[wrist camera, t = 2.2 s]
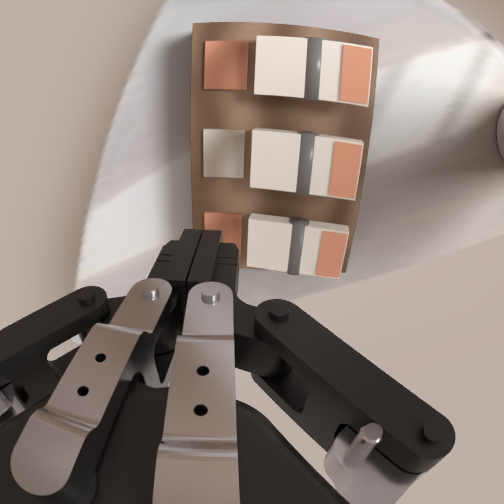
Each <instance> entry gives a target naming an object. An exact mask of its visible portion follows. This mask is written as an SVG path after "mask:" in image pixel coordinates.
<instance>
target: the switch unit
mask: <svg viewBox="0 0 504 504" xmlns="http://www.w3.org/2000/svg"><path fill="white" fill-rule="evenodd" d="M257 36H284V37H299V38H304V37H316V38H322V39H326V40H329V41H337V42H344V43H351V44H357V45H363V46H369V47H373V58H372V71H371V83H370V94H369V104H368V107H366V106H360V105H353V104H347V103H340V102H333V101H326V100H323V101H315V100H306V99H300V98H299V97H288V96H275V95H259V94H254V82H255V60H256V39H257ZM378 49H379V39H377V38H373V37H368V36H363V35H358V34H353V33H348V32H342V31H336V30H329V29H322V28H315V27H306V26H297V25H286V24H272V23H251V22H210V23H193V31H192V59H191V184H192V214H193V229H200V230H203V231H204V230H222V232H223V243H235V245H236V246H237V248H238V249H239V268H248V269H262V268H255V267H248V266H247V245H248V220H249V217H250V215H251V213H256V214H264V215H272V216H280V217H288V218H293V217H302V218H305V219H307V220H311V221H318V222H325V223H333V224H340V225H347V226H348V228H349V236H348V241H347V246H346V251H345V255H344V260H343V265H342V269H341V272H342V273H345V272H346V267H347V263H348V258H349V254H350V249H351V244H352V240H353V235H354V230H355V225H356V220H357V214H358V209H359V204H360V198H361V192H362V186H363V180H364V174H365V168H366V161H367V155H368V147H369V140H370V133H371V125H372V116H373V107H374V98H375V88H376V76H377V64H378ZM254 128H266V129H278V130H288V131H311V132H316V133H319V134H323V135H331V136H338V137H345V138H351V139H358V140H362V141H363V143H364V146H363V153H362V160H361V167H360V173H359V180H358V186H357V192H356V198H355V201H354V200H347V199H340V198H333V197H326V196H319V195H298V194H295V193H294V192H288V191H279V190H270V189H261V188H252V187H250V172H251V149H252V130H253V129H254Z"/></svg>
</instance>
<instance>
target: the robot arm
mask: <svg viewBox="0 0 504 504" xmlns="http://www.w3.org/2000/svg"><path fill="white" fill-rule="evenodd" d="M497 143H498V148H499V150H500V153H501V155H502V157H503V159H504V108H503V109H502V111H501V113H500V116H499V119H498V124H497ZM238 277H239V249H238V248H237V246H236V245H235V243H223V232H222V230H204V231H203V230H200V229H184V231H183V233H182V236H181V238H180V240H179V241H174V240H171V241H170V242H168V243H167V244H166V245H165V246H163V248H162V250H161V252H160V254H159V256H158V258H157V260H156V262H155V264H154V266H153V268H152V270H151V272H150V274H149V276H148V278H147V279H144V280H141V281H139V282H137V283H136V284H135V285H133V287H132V288H131V289H130V291H129V292H128V294H127V296H123V297H116V298H109V299H108V298H107V294H106V292H105V291H104V290H103V289H102V288H100V287H96V286H88V287H83V288H81V289H78V290H76V291H74V292H72V293H70V294H68V295H66V296H64V297H63V298H61V299H59V300H57V301H55V302H53V303H51V304H49V305H47V306H45V307H43V308H41V309H39V310H37V311H35V312H34V313H32V314H30V315H28V316H26V317H24V318H22V319H20V320H19V321H17V322H15V323H13V324H11V325H9V326H7V327H5V328H4V329H2V330H0V504H395V503H396V501H397V500H398V499H399V498H400V497H401V496H402V495H403V494H404V492H405V491H406V490H407V489H408V488H409V487H410V486H411V484H413V483H414V482H415V481H416V480H418V479H419V478H420V477H421V476H423V475H424V474H425V473H426V472H428V471H429V470H430V469H431V468H432V467H433V466H435V465H436V464H437V463H438V462H439V461H440V460H442V459H443V458H444V457H445V456H446V455H447V454H448V453H449V452H450V451H451V450H452V448H453V446H454V443H455V431H454V428H453V426H452V424H451V422H450V421H449V420H448V419H447V418H446V417H445V416H443V415H442V414H441V413H439V412H438V411H436V410H435V409H434V408H432V407H431V406H429V405H428V404H427V403H426V402H424V401H423V400H421V399H420V398H418V397H417V396H416V395H415V394H413V393H412V392H410V391H409V390H408V389H407V388H405V387H404V386H403V385H401V384H400V383H398V382H397V381H396V380H394V379H393V378H392V377H390V376H389V375H388V374H386V373H385V372H384V371H382V370H381V369H380V368H378V367H377V366H376V365H374V364H373V363H372V362H370V361H369V360H367V359H366V358H365V357H364V356H362V355H361V354H360V353H358V352H357V351H355V350H354V349H353V348H352V347H350V346H349V345H347V344H346V343H345V342H344V341H342V340H341V339H340V338H338V337H337V336H336V335H334V334H333V333H332V332H331V331H329V330H328V329H327V328H325V327H324V326H322V325H321V324H320V323H319V322H317V321H316V320H315V319H313V318H312V317H311V316H310V315H308V314H307V313H306V312H304V311H303V310H301V309H300V308H299V307H298V306H296V305H295V304H293V303H291V302H289V301H286V300H282V299H271V300H267V301H264V302H262V303H261V304H259V305H258V306H257V307H255V306H251V305H248V304H246V303H244V302H243V301H241V300H240V299H239V298H238V297H237V291H238ZM77 334H79V336H80V338H81V341H82V345H80V346H78V347H77V348H75V349H73V350H72V351H70V352H68V353H66V354H65V355H63V356H61V357H59V358H58V359H56V360H54V361H48V360H47V355H48V353H49V351H50V350H51V349H53V348H54V347H56V346H58V345H60V344H61V343H63V342H64V341H66V340H68V339H70V338H72V337H74V336H75V335H77ZM235 368H238V369H242V370H244V371H248V372H251V375H252V378H253V380H254V381H255V382H256V383H257V384H258V385H259V386H260V387H261V388H262V389H263V390H264V392H265V393H266V394H267V395H268V396H269V397H270V398H271V399H272V400H273V401H274V402H275V403H276V404H277V405H278V406H279V407H280V408H281V409H282V410H283V411H284V412H285V413H286V414H287V415H288V416H289V417H291V419H293V420H294V421H295V422H296V423H297V424H298V425H299V426H300V427H301V428H302V429H303V430H304V431H305V432H306V433H307V434H308V435H309V436H310V437H311V438H312V439H314V440H315V441H316V442H317V443H318V444H319V445H320V446H321V447H322V448H323V449H324V450H325V451H327V454H326V457H325V460H324V466H325V471H326V473H327V475H328V476H329V477H330V478H331V480H332V481H333V483H334V484H335V487H336V490H335V489H334V488H333V487H332V486H331V485H330V484H329V483H328V482H327V481H326V480H325V479H324V478H323V477H322V476H321V475H320V474H319V473H318V472H317V471H316V470H315V469H314V468H313V467H312V466H311V465H310V464H309V463H308V462H307V461H306V460H305V459H304V458H303V457H302V456H301V455H300V453H299V452H298V451H297V450H296V449H295V448H294V447H293V446H292V445H291V444H290V443H289V442H288V441H287V440H286V438H285V437H284V436H283V435H282V434H281V433H280V432H279V431H278V430H277V429H276V428H275V426H274V425H273V424H272V423H271V422H270V421H269V420H268V419H267V418H266V417H265V416H264V415H263V414H262V413H260V412H259V411H257V410H256V409H255V408H253V407H251V406H249V405H247V404H245V403H243V402H241V401H238V400H236V396H235ZM169 382H170V385H169ZM168 385H169V387H168Z"/></svg>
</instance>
